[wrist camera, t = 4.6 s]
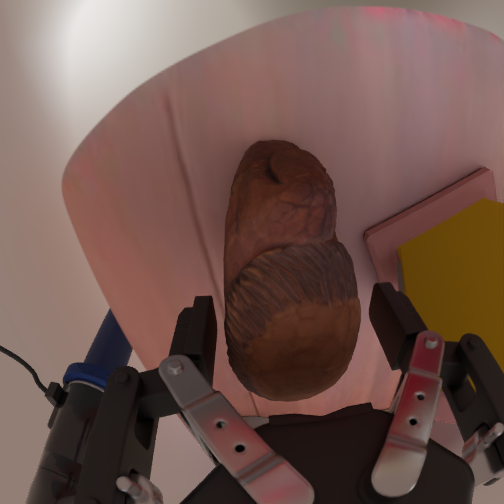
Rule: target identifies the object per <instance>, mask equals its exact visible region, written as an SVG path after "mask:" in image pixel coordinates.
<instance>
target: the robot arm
mask: <svg viewBox="0 0 504 504" xmlns="http://www.w3.org/2000/svg"><path fill="white" fill-rule="evenodd" d="M369 318H370V321H371V323H372V326H373V328H374V330H375V332H376V335H377V337H378V339H379V341H380V344H381V346H382V348H383V350H384V353H385V355H386V357H387V360H388V362H389V364H390V367H391V369H392V370H397V369H401V371H402V374H401V376H400V378H399V381H398V384H397V387H396V390H395V393H394V396H393V399H392V401H391V404H390V407H389V409H388V411H384V410H379V409H373V407H372V404H371V402H369V403H364V404H359V405H353V406H347V407H345V408H342V409H340V410H337V411H335V412H332V413H330V414H327V415H324V416H314V415H304V414H284V415H271V416H269V423H265V424H262V425H260V426H258V427H256V428H254V429H253V428H252V427H251V426H250V425H249V424H248V423H247V422H246V421H245V420H244V418H243V417H242V416H241V415H240V414H239V413H238V412H237V410H236V409H235V408H234V407H233V406H232V405H231V404H230V402H229V401H228V400H227V399H226V398H225V396H224V395H223V394H222V393H221V392H220V391H215V390H214V389H213V388H212V385H213V374H214V362H215V351H216V341H217V320H216V315H215V309H214V304H213V298H212V296H196V297H195V300H194V304H193V307H187V308H184V309H183V311H182V312H181V313H180V314H179V316H178V320H177V325H176V328H175V332H174V336H173V340H172V344H171V348H170V353H169V356H168V357H167V358H165V359H164V360H163V361H162V362H161V363H160V365H159V367H158V368H156V369H153V370H149V371H145V372H141V373H139V372H138V371H137V370H136V369H135V368H133V367H130V366H122V367H119V368H117V369H115V370H114V371H113V372H112V373H111V374H110V375H109V378H108V380H107V383H106V386H105V388H104V387H103V386H101V385H99V384H97V383H95V382H92V381H89V380H86V379H80V378H76V379H72V380H71V381H70V382H66V381H65V384H64V386H63V388H62V387H61V386H60V384H59V383H54V382H51V383H50V385H49V387H48V389H47V388H46V387H45V386H43V384H42V383H41V382H40V380H39V378H38V376H37V374H36V372H35V371H34V369H32V367H31V366H30V365H29V364H27V363H26V362H25V361H24V360H23V359H21V358H20V357H19V356H17V355H16V354H14V353H12V352H11V351H9V350H7V349H5V348H4V347H2V346H0V351H1V352H3V353H5V354H7V355H8V356H10V357H12V358H14V359H15V360H16V361H18V362H19V363H21V364H22V365H23V366H24V367H25V368H26V369H27V370H29V372H30V373H31V374H32V375H33V378H34V380H35V382H36V384H37V385H38V387H39V388H40V389H41V390H42V391H43V392H44V393H45V397H46V398H47V399H48V400H49V401H50V403H51V404H52V405H53V406H54V410H53V412H52V414H51V417H50V419H49V422H48V427H49V429H50V433H49V436H48V438H47V441H46V444H45V447H44V450H43V453H42V456H41V459H40V462H39V465H38V469H37V472H36V475H35V477H34V479H33V481H32V483H31V486H30V489H29V492H28V496H27V499H26V502H25V504H163V496H162V493H161V491H160V490H159V488H158V487H156V486H155V485H154V484H153V483H152V482H150V474H151V466H152V460H153V453H154V446H155V440H156V434H157V428H158V422H159V418H160V417H164V416H168V415H173V414H177V413H179V414H180V416H181V418H182V419H183V421H184V422H185V424H186V425H187V427H188V428H189V429H190V431H191V432H192V434H193V435H194V437H195V438H196V440H197V441H198V443H199V444H200V446H201V447H202V449H203V450H204V452H205V453H206V455H207V456H208V457H209V459H210V460H211V461H212V463H213V464H214V465H215V468H214V469H213V470H212V471H211V472H210V473H209V474H208V475H207V477H206V478H205V479H204V480H203V481H202V482H201V483H200V484H199V485H198V486H197V487H196V488H195V489H194V490H193V491H192V492H191V493H190V494H189V495H188V496H187V497H186V498H185V499H184V500H183V501H182V502H181V503H180V504H472V497H473V492H474V489H475V488H477V487H479V486H481V485H485V486H488V485H491V484H493V483H495V482H496V481H498V480H499V479H501V478H502V477H504V373H503V371H502V370H501V368H500V366H499V365H498V363H497V361H496V360H495V358H494V357H493V355H492V353H491V352H490V350H489V349H488V347H487V346H486V344H485V343H484V341H483V340H482V339H481V338H480V337H479V336H478V335H476V334H472V333H466V334H464V335H463V336H462V337H461V339H460V341H459V342H454V341H444V339H443V337H442V336H441V335H440V334H438V333H437V332H434V331H430V330H428V328H427V326H426V325H425V323H424V322H423V320H422V318H421V317H420V315H419V314H418V312H417V311H416V309H415V307H414V306H413V305H412V303H411V301H410V299H409V298H408V297H407V296H406V295H405V294H403V293H402V292H401V291H396V290H395V288H394V287H393V285H392V284H391V282H383V283H375V284H374V287H373V291H372V296H371V301H370V306H369ZM469 376H470V378H471V380H472V382H473V384H474V386H475V390H476V393H475V391H474V389H473V387H472V385H471V383H470V381H469V379H468V377H469ZM441 388H442V390H443V392H444V395H445V397H446V399H447V401H448V404H449V406H450V408H451V411H452V413H453V415H454V418H455V420H456V423H457V425H458V427H459V430H460V432H461V435H462V437H463V440H464V446H463V448H462V457H459V456H457V455H456V454H454V453H453V452H451V451H450V450H448V449H446V448H445V447H443V446H442V445H440V444H439V443H437V442H435V441H434V440H432V439H431V438H429V437H430V433H431V429H432V426H433V422H434V418H435V414H436V410H437V406H438V401H439V396H440V392H441Z"/></svg>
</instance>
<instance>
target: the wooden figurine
mask: <svg viewBox="0 0 504 504" xmlns="http://www.w3.org/2000/svg"><path fill="white" fill-rule="evenodd" d="M334 193H335V189H334V187H333V181H332V180H331V178H330V176H329V175H328V174H327V173H326V169H325V168H324V167H323V166H322V164H321V163H320V161H319V160H318V159H317V158H316V157H315V156H314V155H312V154H311V153H310V152H308V151H305V150H302V149H300V148H299V147H298V146H297V145H295V144H293V143H290V142H287V141H278V140H271V141H258V142H256V143H255V144H253V145H252V146H250V147H249V149H248V150H247V151H246V152H245V154H244V156H243V158H242V160H241V162H240V165H239V167H238V170H237V172H236V175H235V177H234V181H233V184H232V188H231V196H230V200H229V206H228V211H227V215H226V222H225V245H224V297H225V321H224V329H225V337H226V344H227V346H228V350H227V355H228V357H229V364H230V366H231V367H232V370H233V372H234V373H235V374H236V375H237V378H238V380H239V381H240V382H241V383H242V384H243V386H244V387H245V388H246V389H247V390H249V391H251V392H253V393H255V394H256V395H258V396H260V397H264V398H266V399H268V400H272V401H287V402H288V401H298V400H303V399H308V398H311V397H313V396H315V395H317V394H319V393H321V392H323V391H325V390H327V389H328V388H330V387H331V386H333V385H334V384H335V383H336V382H337V381H338V380H339V379H340V378H341V376H342V375H343V374H344V373H345V371H346V370H347V368H348V365H349V363H350V361H351V359H352V355H353V352H354V349H355V346H356V342H357V337H358V332H359V328H360V322H361V307H360V301H359V298H358V291H357V282H356V278H355V273H354V267H353V262H352V259H351V257H350V255H349V253H348V252H347V250H346V248H345V247H344V245H343V244H342V243H340V242H338V239H337V237H336V233H335V226H336V213H337V208H336V199H335V195H334Z"/></svg>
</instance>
